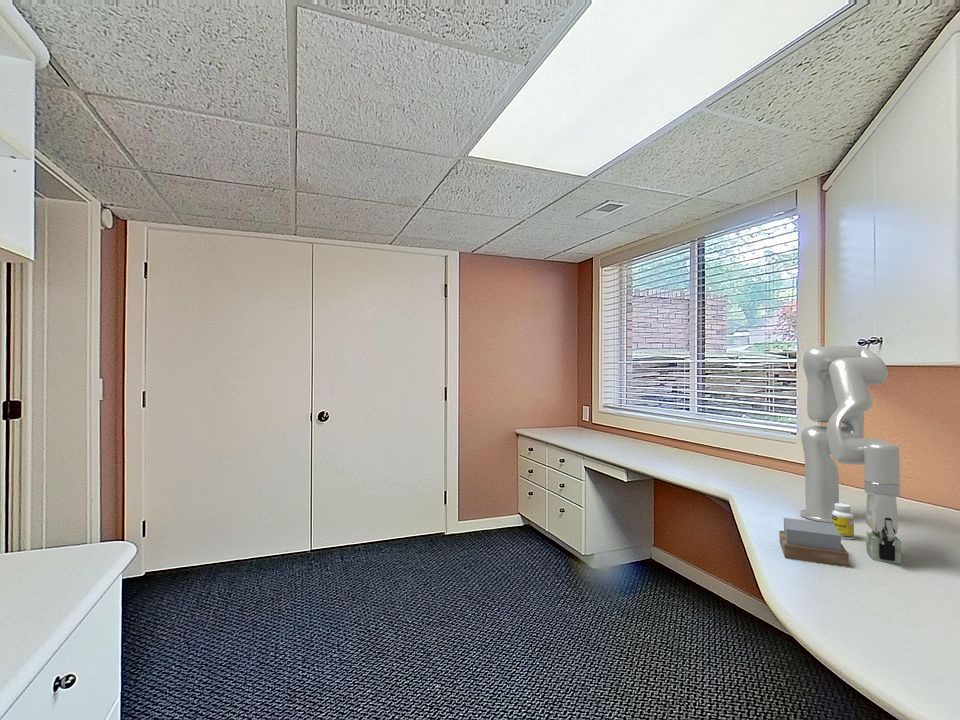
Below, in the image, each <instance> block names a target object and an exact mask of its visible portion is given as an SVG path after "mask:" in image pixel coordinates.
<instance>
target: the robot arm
mask: <svg viewBox="0 0 960 720" xmlns="http://www.w3.org/2000/svg"><path fill="white" fill-rule="evenodd" d="M802 357H803V358H802V367H803V368H802V369H803V372H804V374H805V377H806V381H807V394H806V395H807V398H806V405H807V406H806V408H807V409H806V411H807V417H808V418H809V420H811V421H813V422H816V423H827V425H813V426H812V425H811V426H808V427H805V428H804V429H803V430H802V432H801V435H800V438H801V439H800V440H801V444H802V445H801V446H802V449H803V456H804V477H805V479H804V481H805V482H804V483H805V487H804V488H805V489H804V490H805V509H802V510H800V516H802V517H803V518H804V519H808V520H810V521H816V522H825V523H832V512H833V511H834V510H835V508H834V504H835V503H840V494H839V493H840V492H839V490H840V489H839V488H840V487H839V486H840V485H839V484H840V482H839V479H840V478H839V468H838V464H843V465H861V466H863V468H864V469H863V471H864V473H863V474H864V477H863V478H864V480H863V481H864V484H863V485H864V493H865V494H867V495H866V507H865V508H866V513H865V514H866V515H865V524H866V525H867V527H869V528H870V529H871V530H872V531H871V532H876V533H878V532H879V533H880V542H881V544H880V543H879V558H880V559H883V560H890V561H895V540H894V537H895V536H896V535H897V534H898V529H899V523H898V521H899V520H898V517H899V516H898V504H897V498H899V497H901V470H900V468H901V467H900V465H901V463H900V461H901V460H900V459H901V458H900V457H901V456H900V449H899V447H898V445H896V444H894V443H890V442H887V441H885V440H883V439H879V438H865V437H864V436H865V435H864V433H865V431H864V430H865V429H864V428H865V412H866V411H867V410H869V409H871V408H872V406H873V400H872V397H871V392H870V389H869V386H870V385H871V386H872V385H875V386H878V385H882V384H884V383H885V382H886V381H887V379H888V375H889V373H888V368H887V365H886V363H885V362H884V361H883V359H882V358H881V357H880V356H878V355H877V354H875V353H874V352H872V351H871V350H869V349H868V348H866V347H864V346H860V345H859V346H858V345H857V346H856V345H855V346H854V345H851V346H850V345H848V346H847V345H845V346H843V345H838V346H837V345H836V346H835V345H832V346H831V345H830V346H829V345H828V346H827V345H826V346H816V347H811V348H809V349H807V350H805V352H804V354H803V356H802ZM868 385H869V386H868ZM842 425H843V426H842ZM830 455H831V456H832V457H831V456H830ZM836 462H837V463H838V464H837V463H836ZM883 535H887V536H885V537H883Z"/></svg>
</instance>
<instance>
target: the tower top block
mask: <svg viewBox="0 0 960 720" xmlns="http://www.w3.org/2000/svg"><path fill="white" fill-rule="evenodd" d="M783 531H784V533H785V538H786V542H787V544H792V545H799V546H806V547H813V548H821V549H828V550H835V551H841V544H842V539H841V535H840V534H839V532H838V530H837V529H836V527H835V525H834V524H833V523H829V522H821V521H815V520H809V519H808V520H807V519H799V518H798V519H797V518H788V517H783Z"/></svg>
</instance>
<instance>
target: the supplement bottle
mask: <svg viewBox="0 0 960 720" xmlns="http://www.w3.org/2000/svg"><path fill="white" fill-rule="evenodd" d="M851 507H852V506H851V505H850V504H846V503H841V502H839V503H835V504H834V508H835V510H834V511H833V512H832V523H833V524H834V525H835V527H836V529H837V530H838V532H839V534H840V535H841V540H845V541H847V540H848V541H850V540H853V539H854V538H855V527H854V526H855V520H854V519H855V518H854V517H855V516H854V514H853V513H852V512H851V509H852V508H851Z"/></svg>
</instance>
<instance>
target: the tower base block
mask: <svg viewBox="0 0 960 720" xmlns="http://www.w3.org/2000/svg"><path fill="white" fill-rule="evenodd" d="M778 532H779V534H778V535H779V545H780V549H781V550H782V553H783V556H784V559H787V560H795V561H800V562H801V561H802V562H807V561H808V562H809V563H814V562H816V563H817V564H821V563H823V565H828V564H829V565H830V566H835V565H837V567H842V566H845V567H844V568H849V567H850V563H849V554H850V553H848V551H847V549H846V548H845V547H844V545H843V544H842V543H841V551H835V550H828V549H821V548H813V547H806V546H799V545H792V544H787V542H786V538H785V533H784V530H779V531H778ZM829 565H828V566H829Z"/></svg>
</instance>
